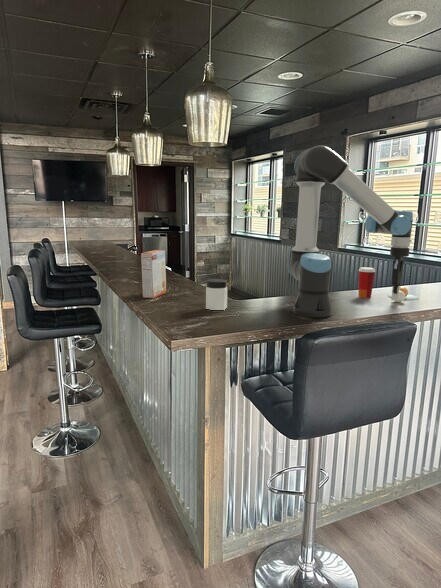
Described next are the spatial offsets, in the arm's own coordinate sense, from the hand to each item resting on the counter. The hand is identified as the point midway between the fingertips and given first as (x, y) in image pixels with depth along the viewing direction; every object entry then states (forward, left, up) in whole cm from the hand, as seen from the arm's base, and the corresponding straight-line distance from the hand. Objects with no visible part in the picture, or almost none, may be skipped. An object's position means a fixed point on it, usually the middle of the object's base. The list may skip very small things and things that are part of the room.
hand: (394, 300), depth 183 cm
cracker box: (-98, -49, -2) cm, 109 cm away
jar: (-59, -54, -2) cm, 80 cm away
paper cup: (-15, +8, -2) cm, 17 cm away
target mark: (0, +20, -2) cm, 20 cm away
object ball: (0, +16, +1) cm, 16 cm away
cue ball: (0, +5, +1) cm, 6 cm away
